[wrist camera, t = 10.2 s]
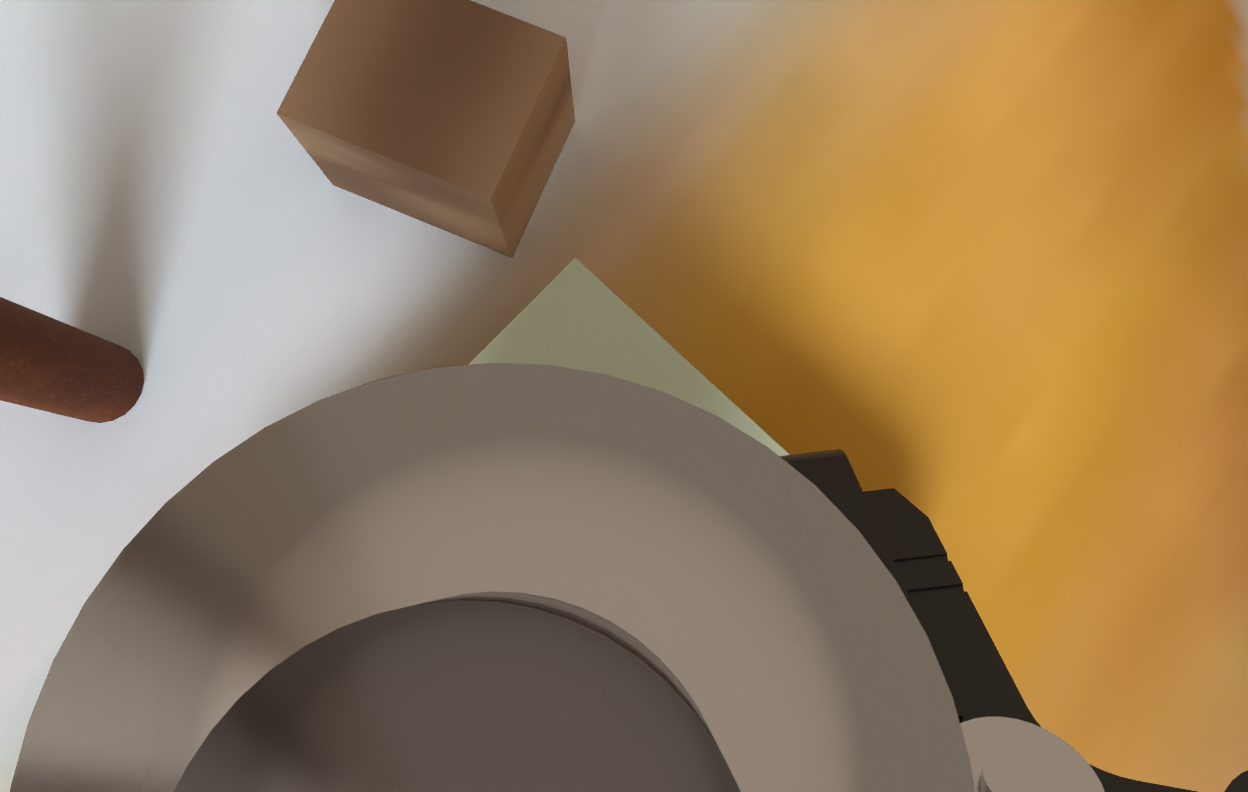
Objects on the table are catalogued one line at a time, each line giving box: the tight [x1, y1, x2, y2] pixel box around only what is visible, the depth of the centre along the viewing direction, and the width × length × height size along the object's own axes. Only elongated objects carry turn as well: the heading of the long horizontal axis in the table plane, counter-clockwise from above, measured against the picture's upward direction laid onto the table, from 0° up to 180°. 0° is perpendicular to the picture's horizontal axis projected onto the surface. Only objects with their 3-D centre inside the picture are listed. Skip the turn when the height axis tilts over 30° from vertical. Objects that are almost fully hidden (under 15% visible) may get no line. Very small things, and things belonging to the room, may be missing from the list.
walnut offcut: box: [277, 0, 575, 257], centre depth 22 cm, size 5×4×4 cm
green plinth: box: [468, 258, 789, 456], centre depth 20 cm, size 11×11×3 cm
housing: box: [10, 363, 975, 792], centre depth 10 cm, size 6×6×11 cm
